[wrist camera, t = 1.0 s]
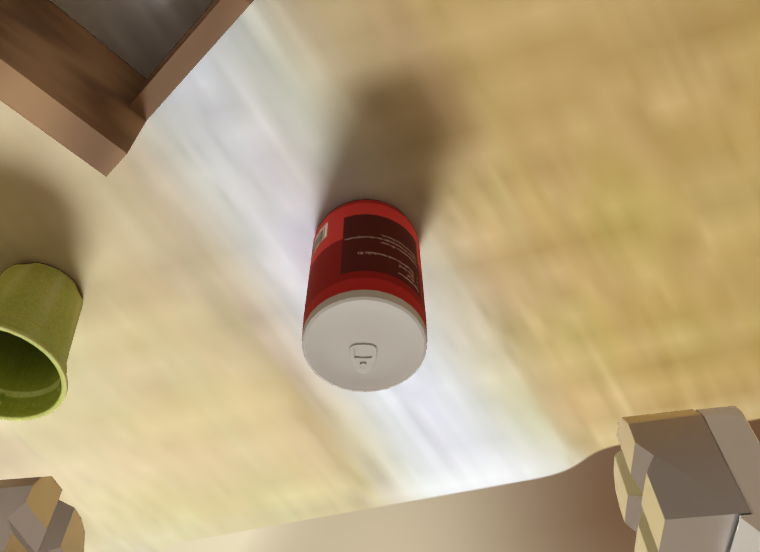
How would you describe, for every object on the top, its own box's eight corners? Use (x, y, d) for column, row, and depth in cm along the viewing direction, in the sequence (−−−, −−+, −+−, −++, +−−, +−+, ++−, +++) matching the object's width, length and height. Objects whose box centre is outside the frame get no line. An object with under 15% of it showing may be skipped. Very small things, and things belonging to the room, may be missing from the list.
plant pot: (77, 355, 58) (36, 439, 51) (-41, 302, 54) (-101, 385, 47) (125, 283, 53) (88, 365, 46) (1, 220, 50) (-59, 299, 43)
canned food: (332, 294, 54) (323, 402, 45) (298, 209, 49) (282, 311, 40) (429, 274, 53) (440, 381, 44) (405, 184, 48) (411, 284, 39)
